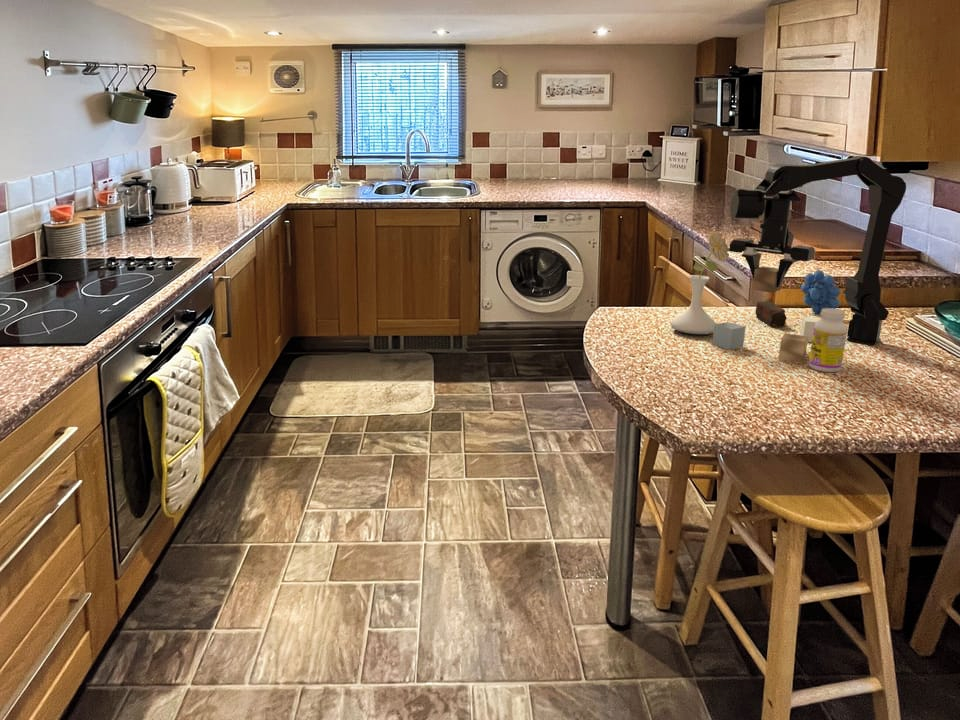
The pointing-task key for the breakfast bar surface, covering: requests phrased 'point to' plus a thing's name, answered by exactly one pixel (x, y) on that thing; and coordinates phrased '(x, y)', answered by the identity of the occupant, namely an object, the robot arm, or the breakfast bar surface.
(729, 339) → the slate blue cube
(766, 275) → the walnut cube
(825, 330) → the supplement bottle
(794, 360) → the oak cube
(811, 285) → the grapes
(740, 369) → the breakfast bar surface
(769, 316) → the brick
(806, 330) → the cream cube
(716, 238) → the flower in vase
